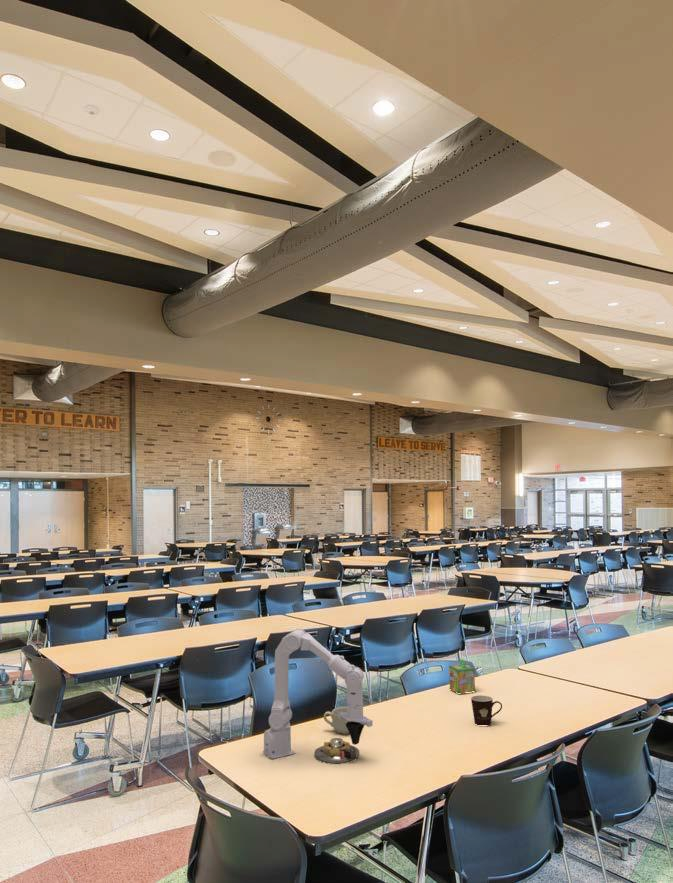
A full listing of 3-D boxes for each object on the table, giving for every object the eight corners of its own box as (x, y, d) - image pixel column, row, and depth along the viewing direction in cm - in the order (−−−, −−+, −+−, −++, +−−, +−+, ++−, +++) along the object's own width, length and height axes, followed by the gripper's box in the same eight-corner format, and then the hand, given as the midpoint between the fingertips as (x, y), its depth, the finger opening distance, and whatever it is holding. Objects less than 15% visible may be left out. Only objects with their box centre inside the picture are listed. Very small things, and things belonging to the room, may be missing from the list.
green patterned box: (449, 690, 312) (448, 658, 313) (466, 688, 314) (465, 656, 316) (458, 695, 303) (457, 662, 304) (476, 693, 306) (474, 660, 307)
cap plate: (327, 767, 221) (327, 751, 222) (306, 752, 235) (306, 737, 235) (367, 757, 229) (367, 742, 229) (345, 744, 243) (344, 729, 243)
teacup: (362, 728, 260) (361, 707, 261) (355, 737, 250) (354, 715, 251) (328, 725, 264) (328, 705, 265) (321, 734, 253) (320, 713, 254)
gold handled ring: (318, 751, 233) (318, 742, 233) (338, 744, 238) (338, 736, 239) (344, 762, 221) (344, 753, 222) (364, 756, 227) (364, 746, 227)
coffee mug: (469, 725, 260) (468, 700, 261) (475, 719, 267) (474, 694, 269) (498, 729, 255) (497, 703, 256) (503, 723, 262) (502, 697, 263)
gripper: (332, 702, 233) (333, 741, 232) (363, 710, 223) (363, 751, 222) (345, 698, 238) (346, 736, 237) (376, 705, 228) (376, 745, 227)
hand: (355, 743), depth 230 cm, fingers closed
